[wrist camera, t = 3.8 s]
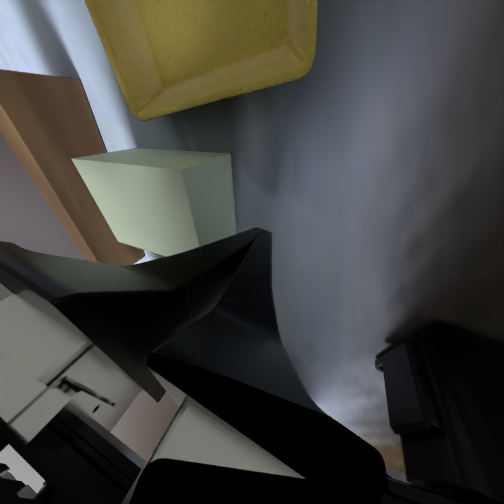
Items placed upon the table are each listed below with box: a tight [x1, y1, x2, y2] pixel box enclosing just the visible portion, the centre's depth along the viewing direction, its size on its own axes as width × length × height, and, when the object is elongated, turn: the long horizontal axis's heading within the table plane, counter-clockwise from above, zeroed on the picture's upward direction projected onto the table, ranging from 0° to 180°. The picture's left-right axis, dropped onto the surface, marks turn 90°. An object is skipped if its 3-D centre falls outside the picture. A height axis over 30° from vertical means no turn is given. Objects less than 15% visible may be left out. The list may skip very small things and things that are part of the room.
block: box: [72, 148, 237, 257], centre depth 11 cm, size 7×5×4 cm
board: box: [0, 69, 145, 265], centre depth 14 cm, size 2×14×4 cm, turn 173°
